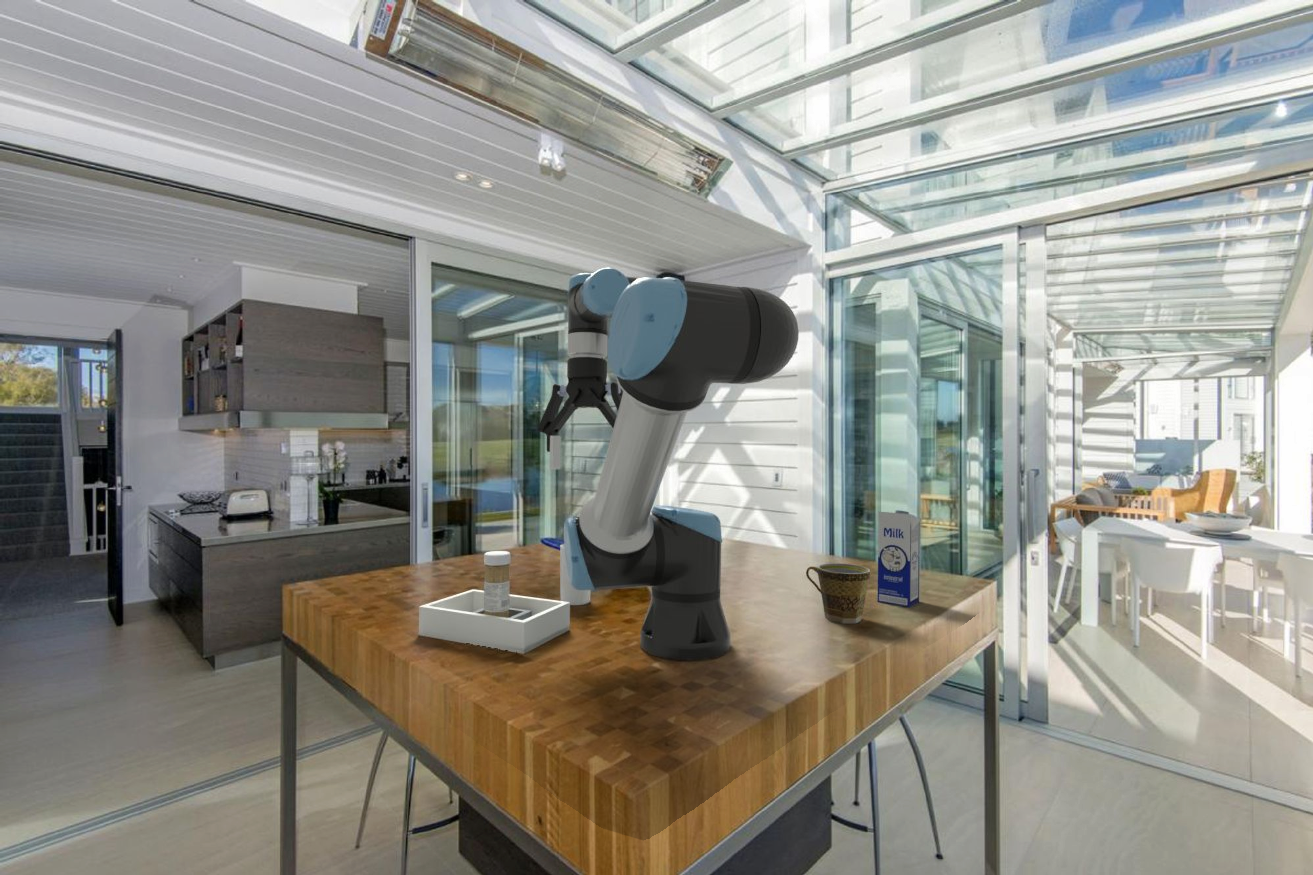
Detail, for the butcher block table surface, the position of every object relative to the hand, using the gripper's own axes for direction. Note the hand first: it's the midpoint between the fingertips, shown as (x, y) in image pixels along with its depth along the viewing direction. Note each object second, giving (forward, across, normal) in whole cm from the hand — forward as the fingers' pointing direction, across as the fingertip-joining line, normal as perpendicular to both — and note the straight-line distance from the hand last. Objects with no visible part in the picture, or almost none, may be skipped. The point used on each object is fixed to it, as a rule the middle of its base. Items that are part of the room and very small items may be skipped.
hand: (585, 470), depth 116 cm
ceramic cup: (+29, -43, -25) cm, 58 cm away
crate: (+29, +11, +12) cm, 33 cm away
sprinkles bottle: (+28, +11, +12) cm, 32 cm away
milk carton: (+29, -54, -44) cm, 75 cm away
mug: (+29, +10, -14) cm, 34 cm away
